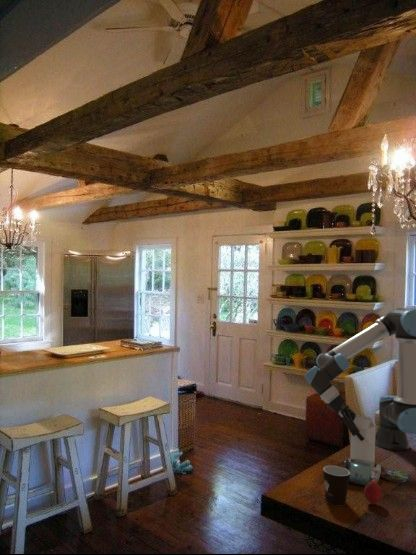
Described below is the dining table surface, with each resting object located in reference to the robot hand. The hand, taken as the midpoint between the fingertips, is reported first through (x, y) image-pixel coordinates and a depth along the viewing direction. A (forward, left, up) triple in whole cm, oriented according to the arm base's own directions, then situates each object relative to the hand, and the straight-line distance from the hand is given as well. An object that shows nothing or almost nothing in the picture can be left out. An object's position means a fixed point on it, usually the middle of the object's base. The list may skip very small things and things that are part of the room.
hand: (370, 443), depth 183 cm
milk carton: (+1, -3, -8) cm, 9 cm away
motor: (+17, +7, -8) cm, 20 cm away
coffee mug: (+41, +13, -8) cm, 44 cm away
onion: (+33, +22, -8) cm, 40 cm away
